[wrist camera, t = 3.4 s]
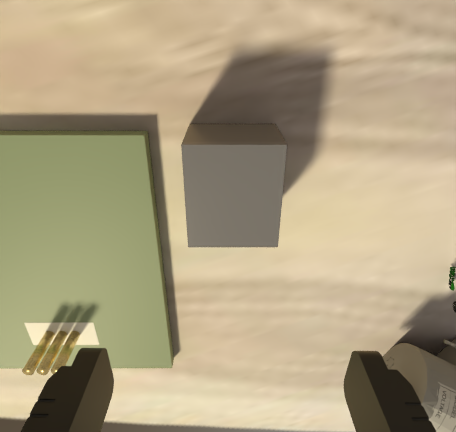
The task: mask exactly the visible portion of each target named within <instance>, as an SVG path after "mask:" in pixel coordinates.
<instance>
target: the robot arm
mask: <svg viewBox="0 0 456 432" xmlns="http://www.w3.org/2000/svg"><path fill="white" fill-rule="evenodd" d="M113 385H114V378H113V373H112V369H111V365H110V360H109V356H108V352H107V349H106V348H81V349H80V350H79V351H78V353H77V355H76V357H75V359H74V361H73V363H72V366H61V367H60V368H59V369H58V370H57V371H56V372H55V373H54V374H53V375H52V376H51V377H50V378H49V380H48V381H47V382H46V384H45V386H44V388H43V390H42V392H41V394H40V396H39V397H38V401H37V402H36V403H35V405H34V407H33V409H32V411H31V413H30V417H29V418H28V419H27V421H26V422H25V424H24V426H23V429H22V430H21V432H101V429H102V425H103V422H104V419H105V416H106V413H107V410H108V407H109V403H110V400H111V397H112V393H113ZM344 393H345V398H346V402H347V405H348V408H349V411H350V414H351V417H352V420H353V423H354V426H355V429H356V432H436V430H435V428H434V426H433V424H432V422H431V421H429V417H428V415H427V413H426V411H425V409H424V407H423V406H422V405H421V401H420V400H419V398H418V396H417V394H416V392H415V390H414V388H413V386H412V385H411V384H410V383H409V381H408V380H407V379H406V378H405V377H404V376H403V375H402V374H401V373H400V372H399V371H398V370H393V369H388V368H387V366H386V364H385V362H384V360H383V358H382V356H381V354H380V353H379V352H377V351H353V352H352V355H351V358H350V362H349V365H348V368H347V372H346V375H345V379H344Z"/></svg>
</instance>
